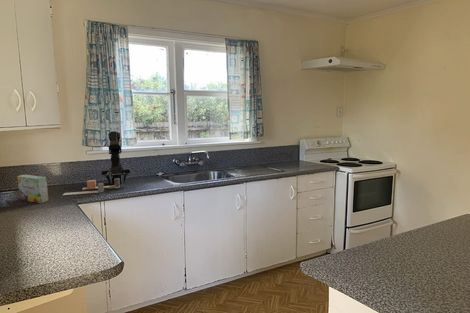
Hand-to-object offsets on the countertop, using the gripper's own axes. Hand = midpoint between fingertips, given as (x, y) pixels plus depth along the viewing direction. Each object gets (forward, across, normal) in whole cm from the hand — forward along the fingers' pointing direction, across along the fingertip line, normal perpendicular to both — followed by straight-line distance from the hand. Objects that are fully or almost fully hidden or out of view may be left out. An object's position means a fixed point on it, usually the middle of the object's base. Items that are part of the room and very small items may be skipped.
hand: (117, 183), depth 231 cm
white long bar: (+3, -20, -13) cm, 24 cm away
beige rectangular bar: (+3, -10, 0) cm, 11 cm away
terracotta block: (+2, -16, 0) cm, 17 cm away
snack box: (+3, -46, -21) cm, 51 cm away
